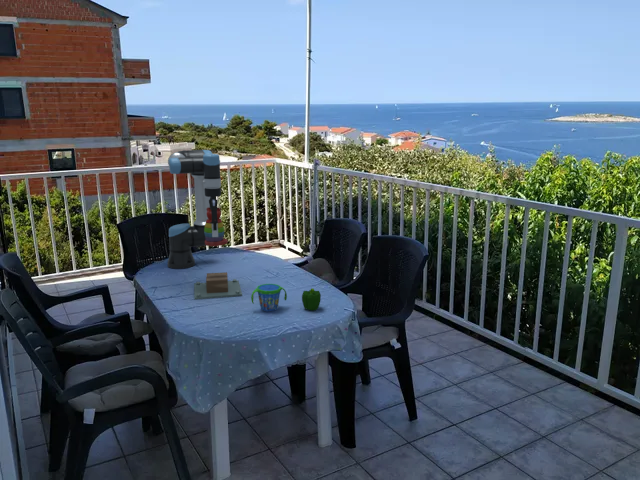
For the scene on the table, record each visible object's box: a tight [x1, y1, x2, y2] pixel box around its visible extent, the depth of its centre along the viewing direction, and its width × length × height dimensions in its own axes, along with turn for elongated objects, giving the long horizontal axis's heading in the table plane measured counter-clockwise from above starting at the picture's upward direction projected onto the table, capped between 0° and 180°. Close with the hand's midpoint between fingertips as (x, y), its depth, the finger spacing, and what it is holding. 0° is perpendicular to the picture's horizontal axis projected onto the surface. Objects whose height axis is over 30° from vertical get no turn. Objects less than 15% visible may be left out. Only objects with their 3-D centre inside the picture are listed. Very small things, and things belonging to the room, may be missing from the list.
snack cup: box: [250, 283, 288, 313], centre depth 228 cm, size 16×10×10 cm
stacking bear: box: [204, 207, 229, 247], centre depth 247 cm, size 11×10×18 cm
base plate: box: [193, 278, 243, 300], centre depth 254 cm, size 22×22×2 cm
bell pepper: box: [301, 288, 322, 311], centre depth 228 cm, size 8×8×10 cm
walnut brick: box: [205, 271, 229, 293], centre depth 253 cm, size 13×10×6 cm
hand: (214, 234), depth 248 cm, fingers closed on stacking bear, 9 cm apart
